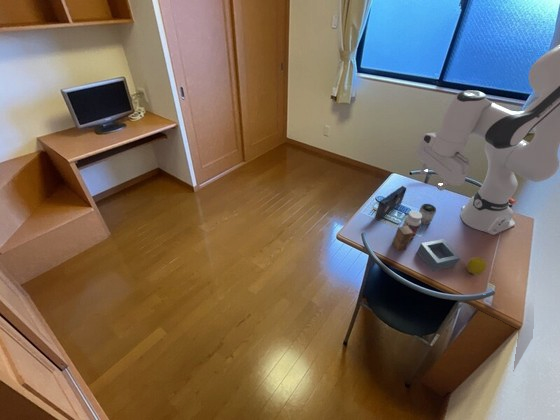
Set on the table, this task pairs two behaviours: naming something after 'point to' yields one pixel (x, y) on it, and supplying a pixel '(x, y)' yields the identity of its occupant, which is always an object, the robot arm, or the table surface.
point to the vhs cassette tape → (390, 202)
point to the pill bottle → (413, 221)
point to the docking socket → (438, 254)
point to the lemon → (476, 265)
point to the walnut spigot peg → (402, 238)
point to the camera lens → (427, 213)
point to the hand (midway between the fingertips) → (431, 181)
